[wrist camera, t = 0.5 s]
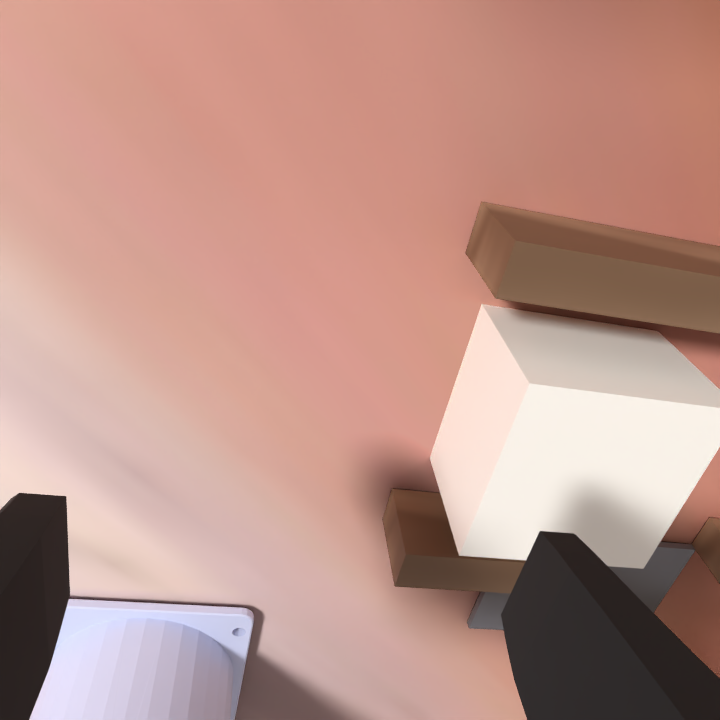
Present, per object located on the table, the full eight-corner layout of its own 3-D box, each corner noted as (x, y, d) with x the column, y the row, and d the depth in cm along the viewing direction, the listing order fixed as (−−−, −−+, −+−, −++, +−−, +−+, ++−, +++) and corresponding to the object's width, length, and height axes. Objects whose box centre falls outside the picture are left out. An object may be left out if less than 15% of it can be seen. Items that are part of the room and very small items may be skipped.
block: (584, 471, 23) (643, 568, 19) (428, 455, 22) (459, 555, 18) (655, 328, 20) (742, 411, 16) (480, 301, 19) (529, 383, 15)
